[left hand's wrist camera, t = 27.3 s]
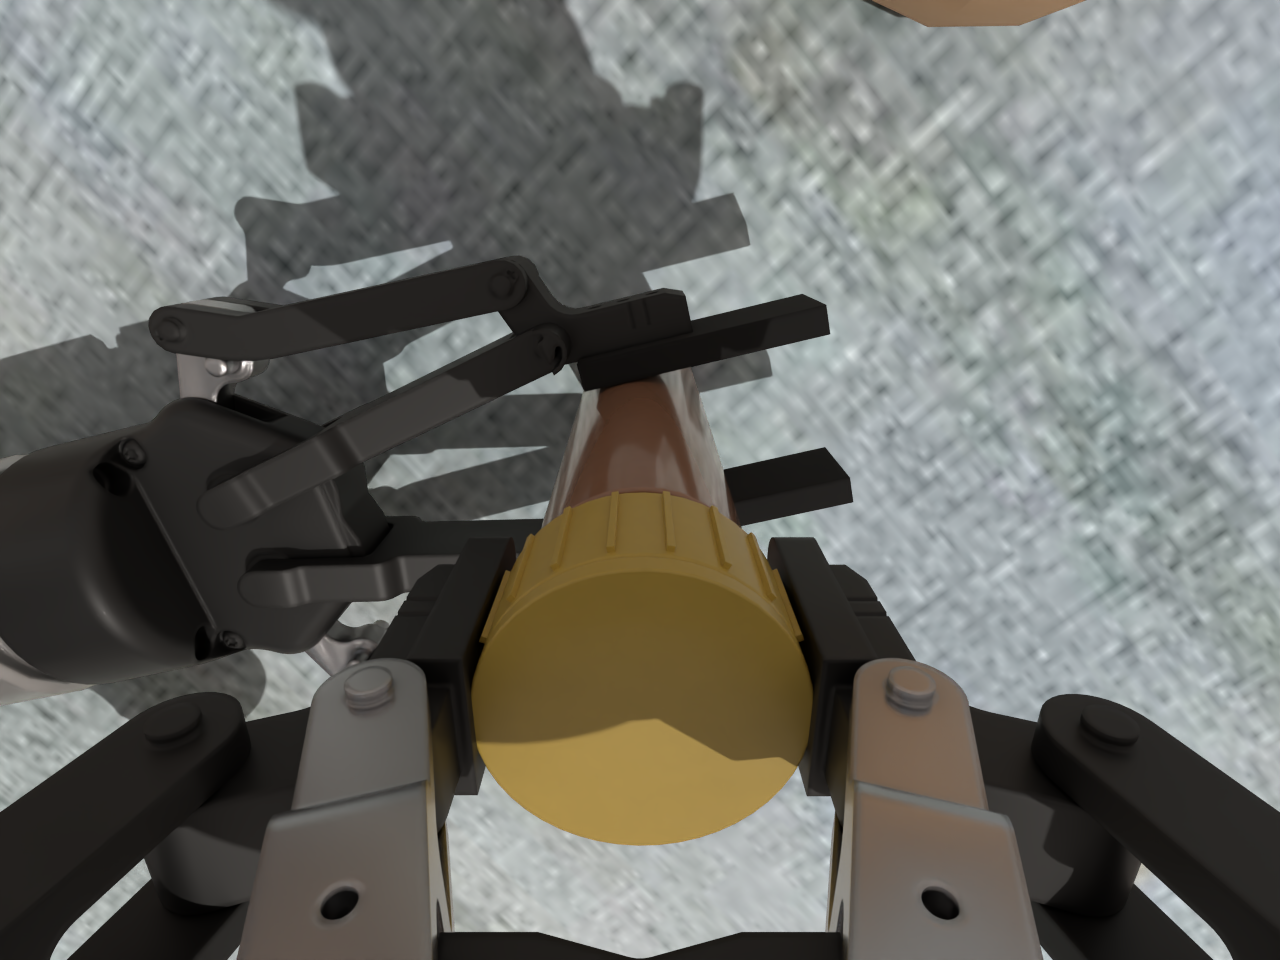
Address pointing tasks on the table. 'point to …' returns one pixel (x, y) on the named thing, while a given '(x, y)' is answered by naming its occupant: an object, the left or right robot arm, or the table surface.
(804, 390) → the table surface
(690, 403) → the jar
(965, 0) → the squash
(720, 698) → the lid
